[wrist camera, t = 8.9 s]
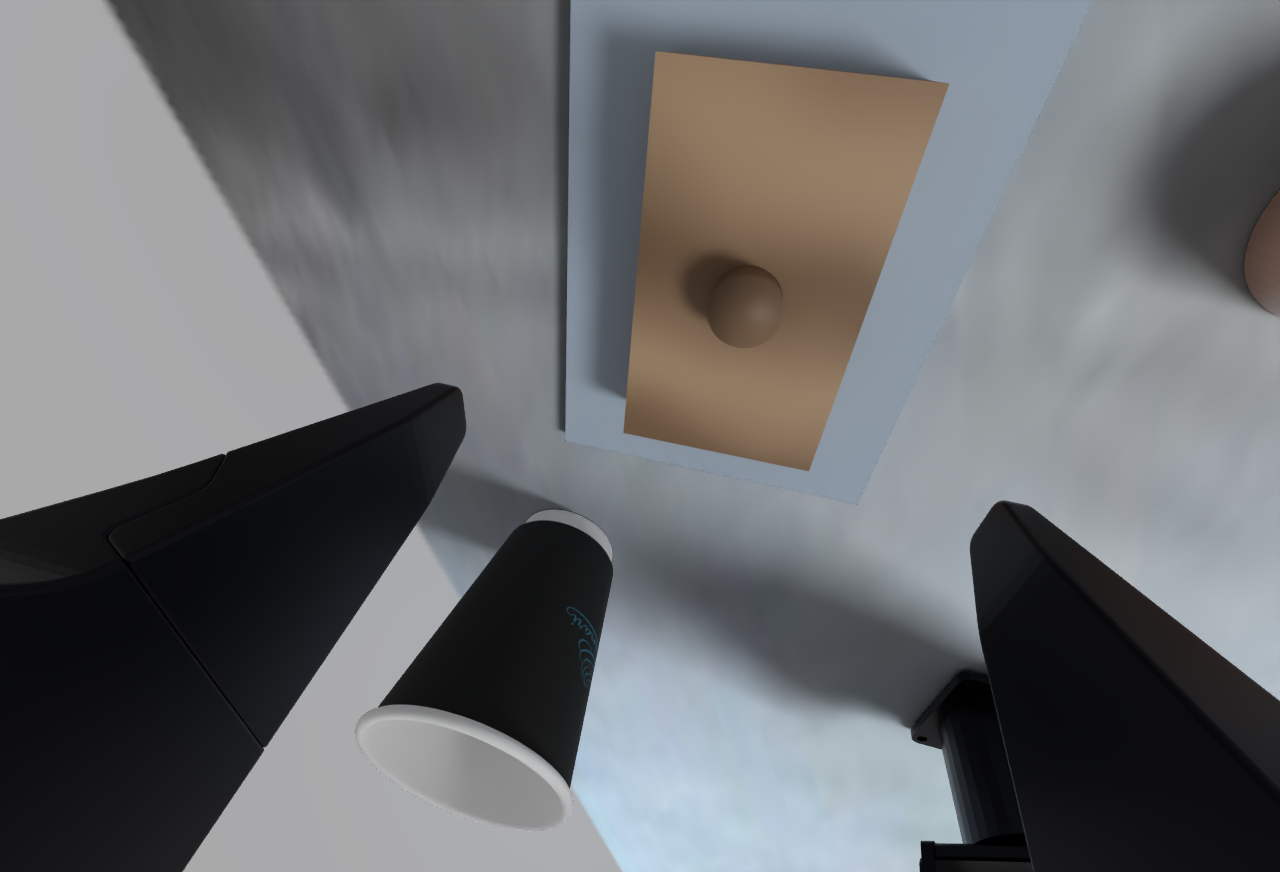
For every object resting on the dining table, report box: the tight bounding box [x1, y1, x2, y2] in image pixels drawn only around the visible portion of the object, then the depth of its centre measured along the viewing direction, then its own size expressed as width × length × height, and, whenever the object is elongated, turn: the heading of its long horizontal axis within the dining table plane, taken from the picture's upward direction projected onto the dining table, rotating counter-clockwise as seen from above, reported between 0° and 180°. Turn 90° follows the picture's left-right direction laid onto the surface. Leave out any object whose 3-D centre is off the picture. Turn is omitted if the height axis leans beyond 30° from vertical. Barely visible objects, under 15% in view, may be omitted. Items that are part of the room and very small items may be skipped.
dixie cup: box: [355, 510, 613, 831], centre depth 22 cm, size 8×8×11 cm
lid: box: [623, 51, 949, 471], centre depth 16 cm, size 11×6×3 cm, turn 175°
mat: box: [565, 0, 1093, 505], centre depth 17 cm, size 16×12×1 cm
